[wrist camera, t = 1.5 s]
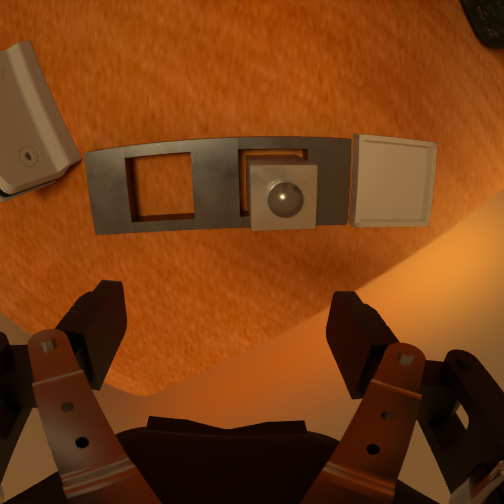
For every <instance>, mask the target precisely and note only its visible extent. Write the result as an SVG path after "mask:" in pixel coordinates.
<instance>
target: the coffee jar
mask: <svg viewBox="0 0 504 504" xmlns="http://www.w3.org/2000/svg"><path fill="white" fill-rule="evenodd" d="M461 2H462V4H463V7H464V9H465V11H466V13H467V16H468V18H469V20H470V22H471V24H472V26H473V28H474V30H475V32H476V34H477V36H478V37H479V39H480V40H481V41H482V42H483V43H484V44H485V45H487V46H488V47H490V48H493V49H504V0H461Z"/></svg>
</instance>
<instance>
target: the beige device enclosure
mask: <svg viewBox="0 0 504 504" xmlns="http://www.w3.org/2000/svg"><path fill="white" fill-rule="evenodd" d="M81 159H82V158H81V156H80V154H79V152H78V150H77V148H76V146H75V144H74V142H73V140H72V138H71V136H70V134H69V131H68V129H67V127H66V125H65V123H64V121H63V119H62V117H61V114H60V112H59V110H58V108H57V106H56V103H55V101H54V99H53V97H52V94H51V92H50V90H49V87H48V85H47V83H46V80H45V78H44V75H43V73H42V70H41V68H40V65H39V63H38V60H37V58H36V55H35V53H34V50H33V47H32V44H31V42H30V41H26V42H19V43H17V44H15V45H13V46H12V47H10V48H9V49H7V50H4V51H1V52H0V202H6V201H8V200H11V199H13V198H16V197H18V196H21V195H24V194H26V193H29V192H31V191H34V190H37V189H40V188H42V187H45V186H48V185H50V184H53V183H55V182H56V181H55V179H56V178H59V177H62V176H63V175H64V173H65V172H66V171H67V169H68V168H69V166H71V165H73V164H75V163H77V162H79V161H80V160H81Z"/></svg>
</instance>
